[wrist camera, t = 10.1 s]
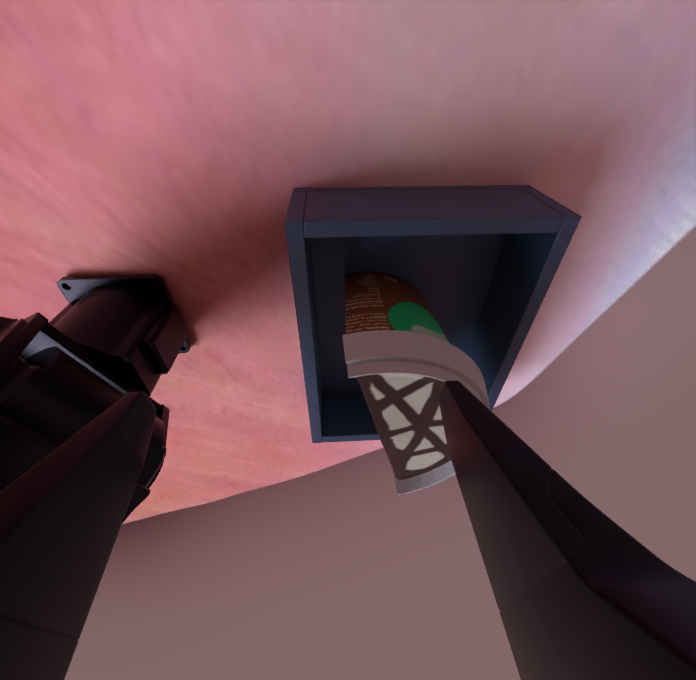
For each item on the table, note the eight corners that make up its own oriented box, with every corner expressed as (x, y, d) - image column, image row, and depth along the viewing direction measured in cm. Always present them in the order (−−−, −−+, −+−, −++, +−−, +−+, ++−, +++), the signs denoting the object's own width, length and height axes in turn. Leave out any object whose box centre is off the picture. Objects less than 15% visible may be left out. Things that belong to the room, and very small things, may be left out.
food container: (450, 364, 27) (499, 481, 20) (379, 381, 28) (399, 499, 20) (435, 225, 19) (506, 329, 12) (337, 253, 20) (344, 368, 13)
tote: (313, 393, 30) (312, 443, 26) (293, 188, 18) (284, 221, 14) (460, 387, 30) (480, 435, 26) (529, 184, 19) (582, 216, 15)
